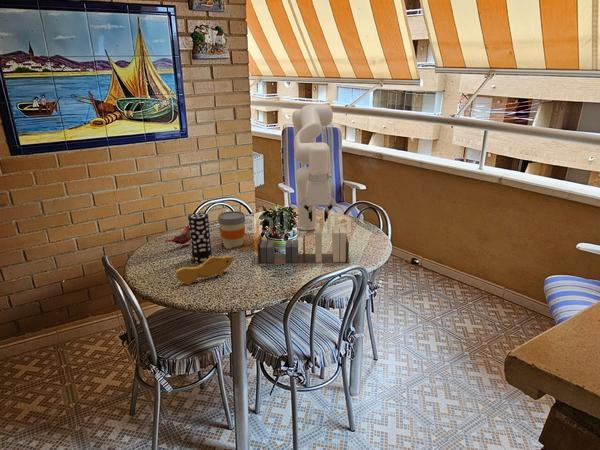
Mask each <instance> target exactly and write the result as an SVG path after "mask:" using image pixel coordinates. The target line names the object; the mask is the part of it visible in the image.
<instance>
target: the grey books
mask: <svg viewBox="0 0 600 450" xmlns="http://www.w3.org/2000/svg"><path fill="white" fill-rule="evenodd" d="M284 251H285V252H284V254H285V255H286V263H291V262H292V263H294V262H298V254H299V239H286V240H285V246H284ZM274 254H275V240H274V239H269V240H267V239H265V240H264V239H263V240H262V239H261V245H260V258H261V263H273V260H274Z"/></svg>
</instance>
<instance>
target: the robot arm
mask: <svg viewBox="0 0 600 450" xmlns="http://www.w3.org/2000/svg"><path fill="white" fill-rule="evenodd" d="M333 116H334V113H333V109H332V107H331V105H330V104H327V103H320V104H319V103H317V104H306V105H304V106H303V107H301V108H300V109H296V110H293V112H292V114H291V119H292V125H293V128H294V130H295V133H296V135H295V136H294V139H293V152H294V156H295V157H294V158H295V159H296V161H298V162H299V163H300V164H302V165H308V166H303V167H300V168H298V169H297V170H296V171H295V180H296V187H297V212H298V213H297V217H298V218H297V221H298V222H297V225H298V227H297V228H296V229H297V230H300V231H315V227H320V222H317V216H318V215H317V206H321V207H322V206H323V208H324V211H323V221H324V222H327V220H329V212H330V211H331V210H332V209H333V208H334V207H335V206H336V205H337V201H336V200H335V199H334V197H333V196H332V191H331V179H332V173H331V172H332V171H331V149H330V146H329V145H328V144H327V143H326V142H316V138H319V136H320V135H321V134H322V132H323V127H328V126H329V125H330V124H331V123H332V121H333V119H334V117H333Z"/></svg>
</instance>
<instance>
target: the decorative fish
mask: <svg viewBox="0 0 600 450" xmlns="http://www.w3.org/2000/svg"><path fill="white" fill-rule="evenodd" d="M232 263H233V257H232V256H231V255H230V254H229V255H227V254H225V255H224V254H223V255H222V256H214V255H212V257H210V258H208V259H207V260H206V261H205V262H204V263H199V264H198V266H182V267H180V268H178V269H176V270H175V274H176V276H175V277H176V279H177V280H178V281H180V283H183V284H185V285H191V284H192V283H193V282H195V281H196V279H199V278H200V279H201V278H210V277H212V276H215V275H218V276H222V275H223V274H224V271H225V270H226V269H227V268H229V267H230V266H231V265H232Z"/></svg>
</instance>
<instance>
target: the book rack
mask: <svg viewBox="0 0 600 450" xmlns="http://www.w3.org/2000/svg"><path fill="white" fill-rule="evenodd" d="M261 242H262V235H261V234H259V236H258V240H257V242H256V249H257V265H288V264H289V265H291V264H293V265H297V264H299V265H300V264H301V265H303V264H305V265H306V264H311V265H312V264H314V265H315V264H321V265H322V264H325V265H327V264H350V262H349V253H350V252H349V251H350V242H349V239H348V234H347V233H346V262H340V261H339V262H333V257H332V253H322V262H319V263H316V259H315V253H306V235H305V234H303V236H302V253H298V262H294V263H292V262H291V263H286V255H285V253H274V260H273V263H261V258H260V245H261Z"/></svg>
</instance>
